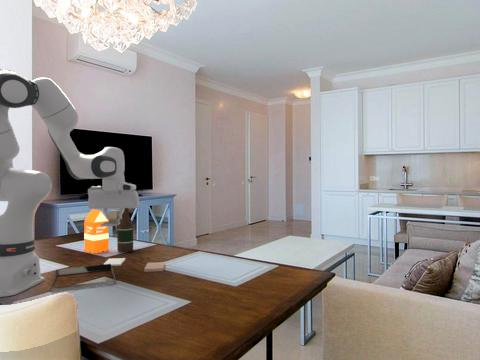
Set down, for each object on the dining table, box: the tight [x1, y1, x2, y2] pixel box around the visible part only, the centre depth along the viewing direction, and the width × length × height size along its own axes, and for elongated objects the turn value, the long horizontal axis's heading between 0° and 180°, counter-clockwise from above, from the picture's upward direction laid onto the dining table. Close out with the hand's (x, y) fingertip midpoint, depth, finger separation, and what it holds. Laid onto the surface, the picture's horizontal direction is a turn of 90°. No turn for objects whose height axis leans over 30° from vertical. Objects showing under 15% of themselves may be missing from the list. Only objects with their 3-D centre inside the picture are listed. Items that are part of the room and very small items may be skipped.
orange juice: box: [83, 209, 110, 254], centre depth 165 cm, size 8×9×20 cm
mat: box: [103, 257, 126, 267], centre depth 143 cm, size 10×7×1 cm
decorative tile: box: [49, 263, 116, 293], centre depth 121 cm, size 20×3×20 cm
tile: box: [144, 261, 166, 273], centre depth 135 cm, size 2×7×9 cm
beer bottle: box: [116, 208, 134, 253], centre depth 165 cm, size 8×8×24 cm
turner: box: [101, 209, 120, 227], centre depth 140 cm, size 12×6×5 cm, turn 7°
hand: (114, 219), depth 143 cm, fingers closed on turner, 3 cm apart
